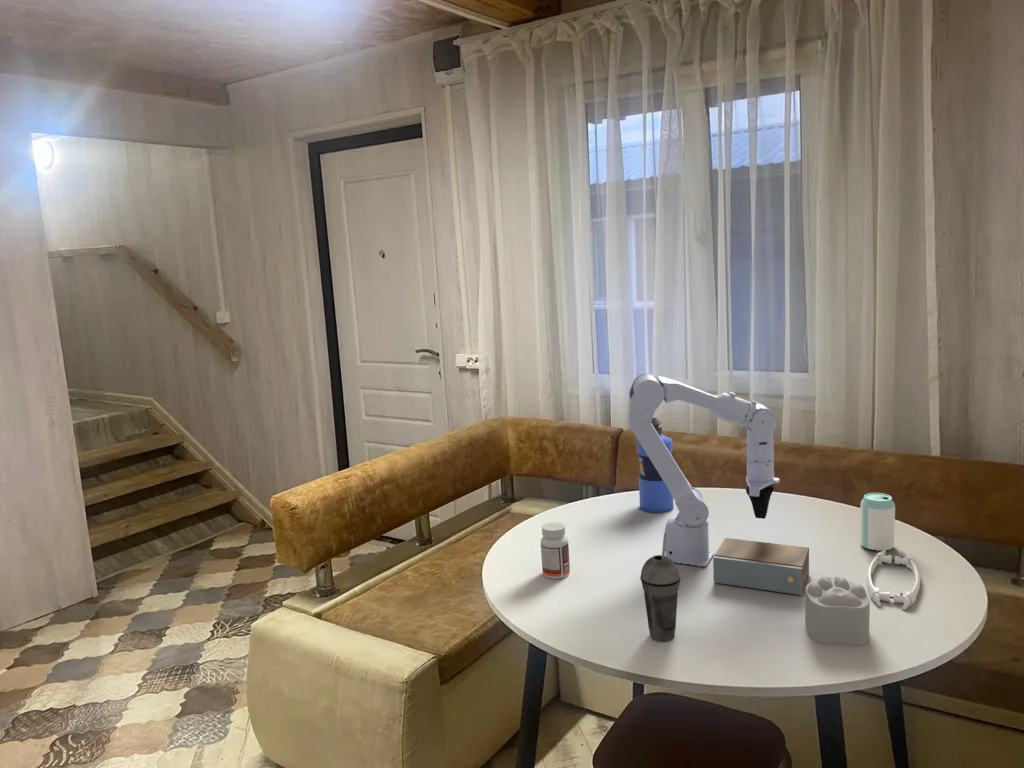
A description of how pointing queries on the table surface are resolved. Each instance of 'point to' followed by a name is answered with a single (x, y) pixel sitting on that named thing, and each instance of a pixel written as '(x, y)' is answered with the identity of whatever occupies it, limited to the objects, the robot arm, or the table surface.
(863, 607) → the grey paw shaped block
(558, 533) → the pill bottle
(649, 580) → the beverage cup
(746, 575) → the cabinet door
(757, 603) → the table surface
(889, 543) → the can
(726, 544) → the walnut cabinet
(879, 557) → the white oval frame
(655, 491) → the water bottle
